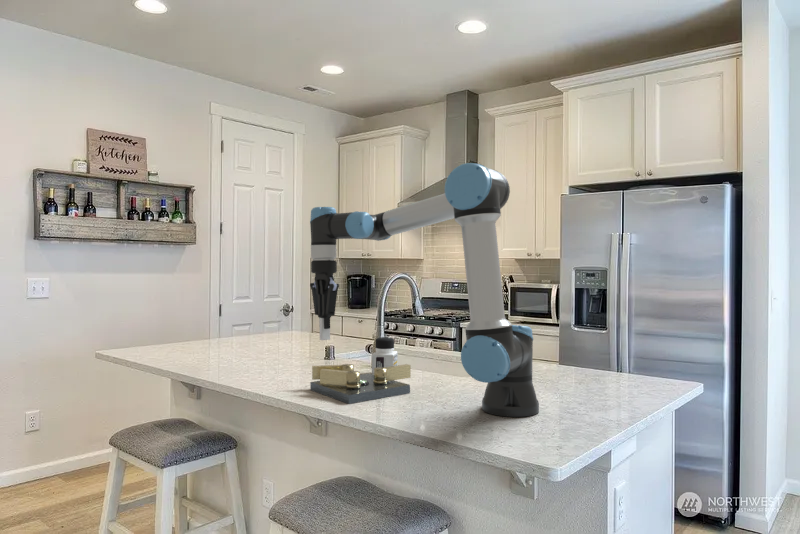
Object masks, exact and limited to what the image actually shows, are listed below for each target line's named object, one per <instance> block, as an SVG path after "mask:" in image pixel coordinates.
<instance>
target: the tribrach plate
mask: <svg viewBox="0 0 800 534" xmlns="http://www.w3.org/2000/svg"><path fill="white" fill-rule="evenodd" d="M373 380H374V375H372V373H362V374H360V384H361V387H360V388H353V389H352V388H346V386H342V385H333V384H324V383H320V380H314V381H310V384H309V385H310V386H309V387H310V391H312V392H315V393H317V394H320V395H324V396H326V397H329V398H332V399H335V400H337V401H339V402H343V403H345V404H347V405H351V404H356V403H362V402H368V401H373V400H380V399H385V398H391V397H395V396H401V395H406V394H411V385H410V384H408V383H405V382H401V381H398V380H393V381H388V383H386V384H375V383H373Z"/></svg>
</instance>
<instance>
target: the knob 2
mask: <svg viewBox="0 0 800 534" xmlns="http://www.w3.org/2000/svg"><path fill="white" fill-rule="evenodd" d="M411 367H412V366H411V364H407V363H406V364H398V365H397V366H390V367H378V368H374V380H373V383H375V384H386V383H388V381H393V380H394V381H398V380H405V379H409V378H410V379H411V371H412V370H411Z"/></svg>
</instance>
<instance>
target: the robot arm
mask: <svg viewBox="0 0 800 534" xmlns="http://www.w3.org/2000/svg"><path fill="white" fill-rule="evenodd" d="M510 187H511V186H510V183H509V181H508V179H507V178H506V176H505V175H504V174H503V173H501V172H500V171H498V170H496V169H493V168H489V167H487V166H485V165H483V164H482V163H481V164H480V163H476V162H475V163H473V162H467V163H466V162H465V163H462V164H460V165H458V166H456V167H455V168H453V170H452V171H450V173H449V175H448V176H447V178H446V180H445V184H444V193H442V194H439V195H435V196H431V197H429V198H425V199H422V200H418V201H416V202H412V203H409V204H406V205H402V206H399V207H396V208H392V209H390V210H386V211H383V212H379V213H376V214H370V213H369V212H366V211H353V212H351V211H350V212H340V213H339V212H337V209H336V208H335V207H333V206H316V207H313V208H311V210H310V219H309V225H310V259H312V260H311V262H310V269H311V271H310V272H311V274H314V282H311V283H310V284H309V287H310V289H311V294H312V301H313V302H312V303H313V309H314V311H313V312H314V315H316V316H317V318H319V321H318V322H319V324H318V325H319V341H330V340H331V318H332V317H333V316H335V314H336V307H337V306H336V305H337V298H338V297H337V296H338V290H339V287H340V284H339V283H336V282H335V276H334V274H336V273H337V272H338V263H337V260H335V259H336V258H337V251H338V249H337V240H351V239H353V240H368V241H369V240H370V241H379V242H380V241H385V240H388V239H390V238H391V236H395V235H398V234H401V233H406V232H409V231H414V230H416V229H420V228H424V227H428V226H431V225H434V224H438V223H442V222H446V221H448V220H449V221H450V220H453V219H454V221H455V222H456V224H458V225H459V226H460V227H461V237H462V245H463V246H462V247H463V248H462V249H463V259H464V266H465V276H466V277H465V278H466V279H465V280H466V287H467V298H468V299H467V300H468V307H469V317H470V318H469V319H470V320H469V323H468V324H467V325H466V327H465V330H464V331H465V339H466V341H465V342H464V344H463V346H462V347H461V352H460V360H461V364H462V367H463V369H464V371H465V372H466V373H467V375H468V376H470V377H471V378H472V379H474V380H475V381H477V382H481V383H487V384H486V387H485V390H484V391H485V392H484V394H483V397H482V400H481V409H482V411H483V412H485V413H486V414H487V413H488V414H490V415H495V416H500V417H508V418H511V417H512V418H519V417H520V418H521V417H530V416H534V415H537V414H538V413H539V412H540V403H539V400H538V398H537V393H536V390H535V387H534V386H535V385H534V382H533V347H534V346H533V341H534V337H533V329H532V328H531V327H530V326H528V325H527V326H526V325H514V324H512V323H511V322H510V321H509V320H508V319H506V314H505V307H504V296H503V295H504V294H503V286H502V274H501V267H500V258H499V257H500V255H499V246H498V235H497V226H496V223H497V221H498V220H499V219H500V218H501V216H502V215H501V213H502V212H501V209H502V208H503V207H504V206H505V205H506V204H507V203H508V200H509V198H510V193H511V190H510V189H511V188H510Z"/></svg>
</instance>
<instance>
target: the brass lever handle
mask: <svg viewBox="0 0 800 534" xmlns="http://www.w3.org/2000/svg"><path fill="white" fill-rule="evenodd" d="M321 369H331V370H341V371H355V370H354V369H355V365H354V364H352V363H344V364H326V365H312V366H311V379H312V380H314V381H319V380H320V370H321Z"/></svg>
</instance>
